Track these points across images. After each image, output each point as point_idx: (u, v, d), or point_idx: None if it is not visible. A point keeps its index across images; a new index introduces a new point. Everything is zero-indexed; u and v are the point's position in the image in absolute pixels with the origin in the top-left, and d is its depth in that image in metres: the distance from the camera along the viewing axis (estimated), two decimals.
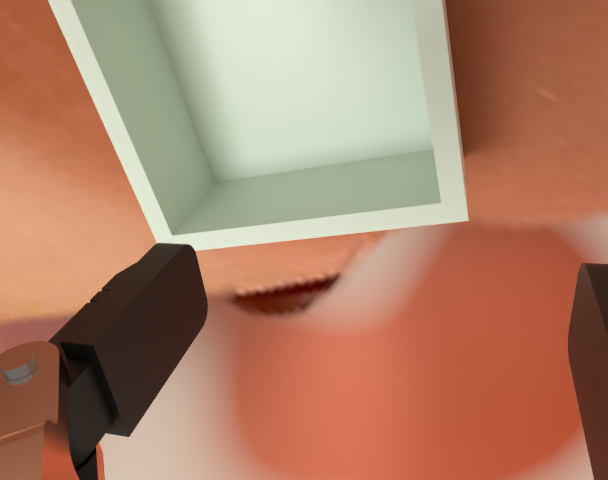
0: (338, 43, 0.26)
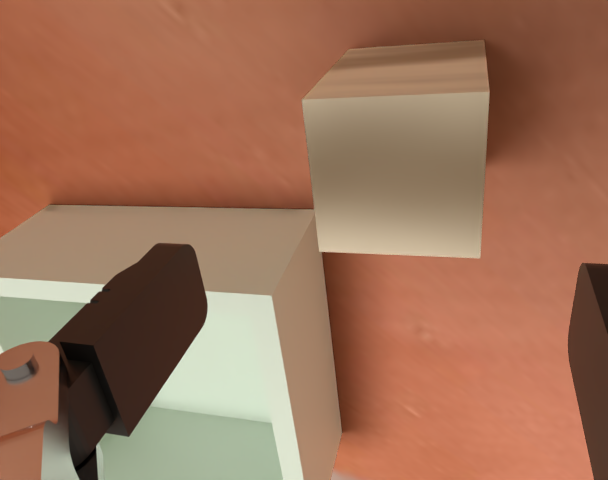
0: (237, 342, 0.29)
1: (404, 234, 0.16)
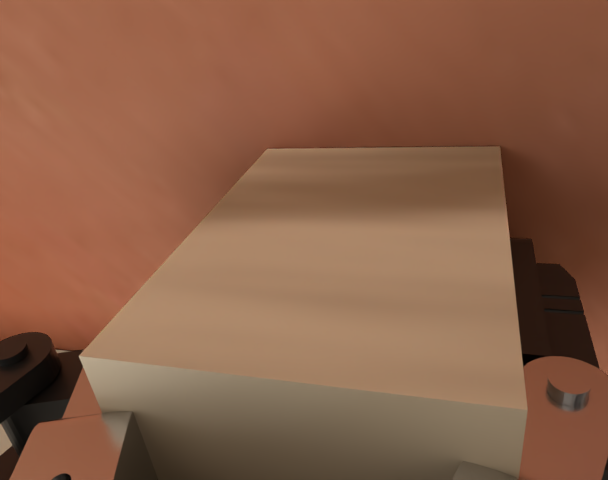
0: None
1: None
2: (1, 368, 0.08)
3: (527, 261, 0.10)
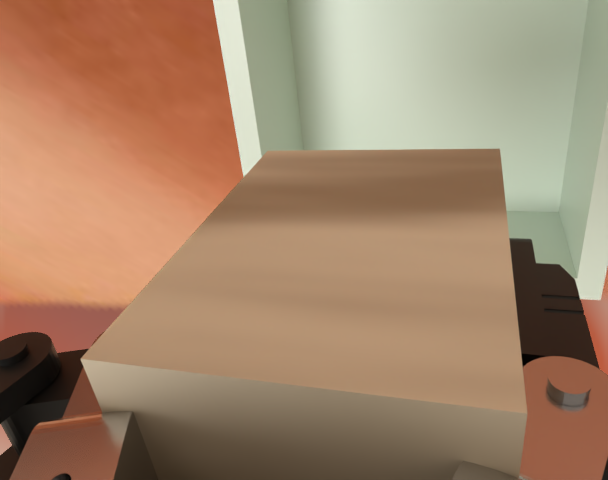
0: (479, 93, 0.25)
1: None
2: (1, 368, 0.08)
3: (527, 261, 0.10)
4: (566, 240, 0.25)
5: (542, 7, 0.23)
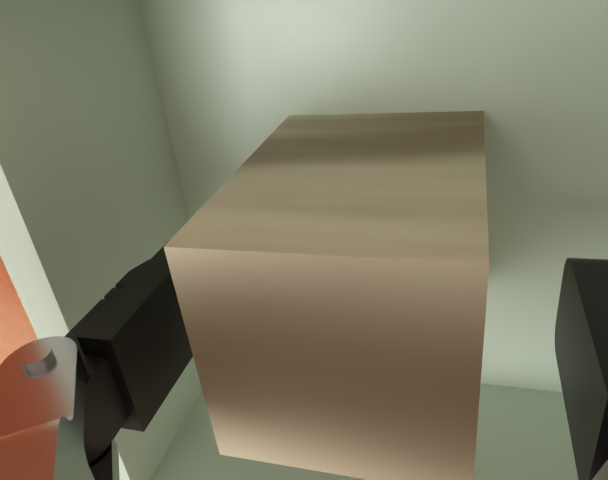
0: None
1: (349, 450, 0.10)
2: None
3: None
4: None
5: (603, 76, 0.12)
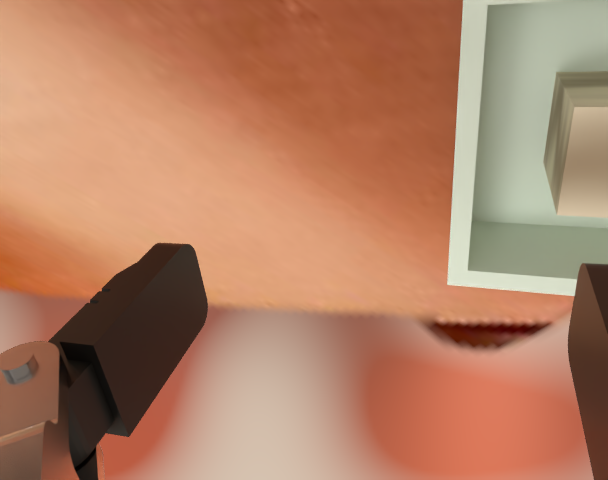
0: None
1: None
2: None
3: None
4: None
5: None
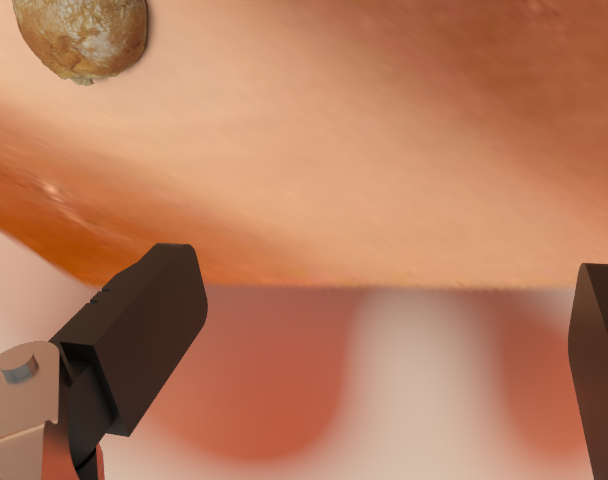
0: None
1: None
2: None
3: None
4: None
5: None
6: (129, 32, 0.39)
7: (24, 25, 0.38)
